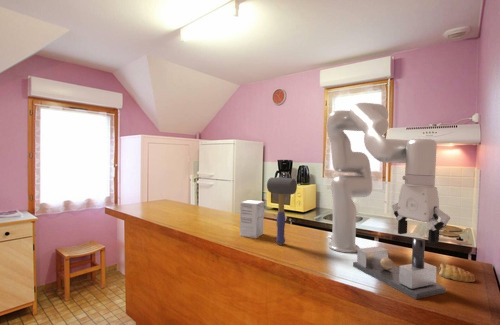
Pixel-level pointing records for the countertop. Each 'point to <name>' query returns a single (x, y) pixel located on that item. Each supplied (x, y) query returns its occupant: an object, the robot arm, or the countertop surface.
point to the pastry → (456, 273)
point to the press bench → (390, 273)
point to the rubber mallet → (281, 201)
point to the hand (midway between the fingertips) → (416, 238)
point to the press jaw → (417, 268)
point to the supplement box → (251, 218)
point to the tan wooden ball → (386, 264)
